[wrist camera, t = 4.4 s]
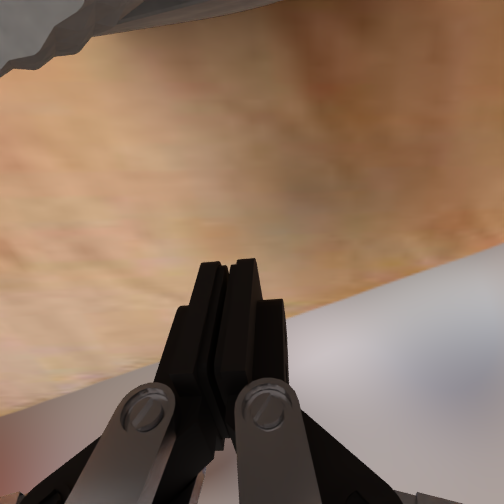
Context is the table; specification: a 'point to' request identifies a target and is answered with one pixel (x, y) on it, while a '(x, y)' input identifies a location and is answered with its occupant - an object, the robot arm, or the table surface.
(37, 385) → the table surface
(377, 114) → the table surface
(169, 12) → the hip flask
